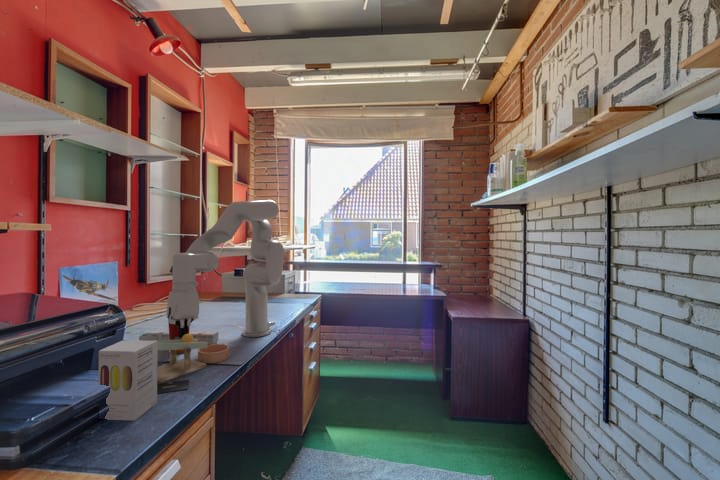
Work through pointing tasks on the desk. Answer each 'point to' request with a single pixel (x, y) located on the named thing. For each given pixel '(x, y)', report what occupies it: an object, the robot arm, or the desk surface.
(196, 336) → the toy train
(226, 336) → the desk surface
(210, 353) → the bowl
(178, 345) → the lever tray
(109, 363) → the supplement box
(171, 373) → the stand
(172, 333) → the coffee cup
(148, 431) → the desk surface
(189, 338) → the ball
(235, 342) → the desk surface
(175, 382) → the solid state drive
